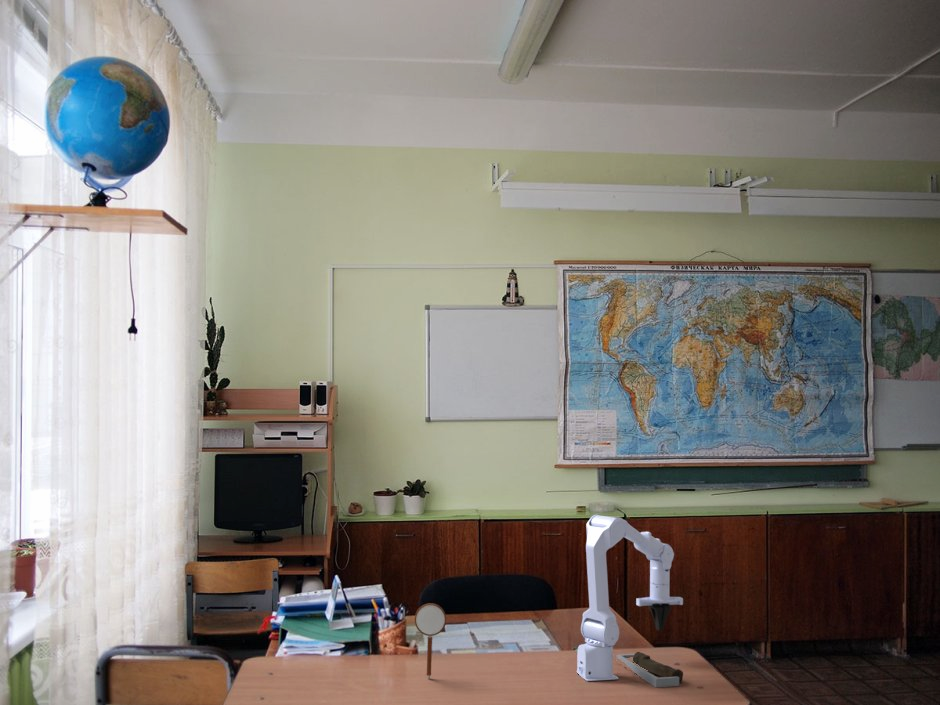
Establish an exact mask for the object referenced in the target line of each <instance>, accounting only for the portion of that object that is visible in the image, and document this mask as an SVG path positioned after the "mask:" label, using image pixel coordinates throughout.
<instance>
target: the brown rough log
mask: <svg viewBox="0 0 940 705" xmlns="http://www.w3.org/2000/svg"><path fill="white" fill-rule="evenodd" d="M634 654H635V655H634V657H633V661H634V662H635V663H636V664H638V665H639V666H640V667H642V668H644V669H646V670H648V671H647V672H649V673H651V674H653V675H657V677H659V678H660V677H676V676H678V677H679V684H681V683H682V682H683V679H684V678H683V676H684V671H683V670H681V669H679V668H678V669H677V668H673V667H672V666H670V665H667V664H666V665H665V664H664V663H660V662H658V661H656V660H653V659H652V658H651V656H650V655H649V654H648V655H647V654H646V653H643V652H640V651H637V652H635V653H634Z"/></svg>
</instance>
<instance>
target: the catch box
mask: <svg viewBox="0 0 940 705" xmlns="http://www.w3.org/2000/svg"><path fill="white" fill-rule="evenodd" d="M634 655H635V653H626V654H625V653H624V654H616V659H617V658H618V659H620V660H621V661H622V662H624V663H625V664H626V665H627V666H628V667H630V668H631V669H632V670H633V671H634V672H635V673H637V674H638V675H639V676H640V677H642V678H643V679H644V680H643V679H642V678H641V679H642V680H643V681H646V682H647V683H648V684H650V685H651V686H653V687H654V688H667V687H680V683H679V677H678V676H676V677H660V676H659V677H658V676H655V674H653V673H651V672H649V671H646V670H644V669H642V668H641V667H639V666H638V665H636V664H634V663H633V662H631V661H629V660H628V659H626V658H630V657H634ZM639 676H638V677H639ZM640 677H639V678H640Z"/></svg>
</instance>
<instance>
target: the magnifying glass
mask: <svg viewBox="0 0 940 705" xmlns="http://www.w3.org/2000/svg"><path fill="white" fill-rule="evenodd" d="M414 624H415V627H416V629H417V630H418V631H419V632H420V633H421V634H422V635H424V636H427V647H426V648H427V649H426V650H427V651H426V652H427V653H426V655H427V657H426V676H427V679H428V680H429V679H431V676H432V660H433V659H432V650H433V637H432V636H436V635H438V634H440V633H441V632H442V631H443V630H444V628H445V627H446V624H447V615H446V612H445V610H444V609H443V607H441V606H440V605H439V604H436V603H429V602H428V603H426V604H423V605H421V606H420V607H419V608H418V609H417V610H416V612H415V615H414Z"/></svg>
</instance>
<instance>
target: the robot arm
mask: <svg viewBox="0 0 940 705" xmlns="http://www.w3.org/2000/svg"><path fill="white" fill-rule="evenodd" d="M585 527H586V543H585V552H586V553H585V554H586V555H585V556H586V570H587V573H586V574H587V590H588V604H589V605H588V606H589V607H588V609H587V610H585V611H583V613H582V620H581V625H580V633H581V635H582V636H583V639H584V642H585V643H581V644H579V645H578V647H577V650H576V651H577V654H576V656H577V657H576V662H577V663H576V665H577V666H576V668H577V669H576V672H577V673H578V674H579V675H578V674H577V673H576V672H575V673H576V674H577V675H578V676H579V677H581V678H582V679H584V680H585V681H587V682H594V681H595V682H597V681H609V680H610V681H611V680H618V679H619V677H618V676H617V675H615V674H614V673H613V668H614V666H613V664H614V663H613V660H614V646H615V645H616V643H617V642H618V640H619V637H620V627H619V625H618V622H617V617H616V614H614V613H613V611H612V610H611V609H610V603H609V602H610V601H609V600H610V599H609V598H610V596H609V584H608V583H609V582H608V581H609V580H608V565H607V551H608V550H609V549H611V548H613V547H614V546H615V545H616V544H617V543H619V542H620V541H622V539H623V538H625V539H626V540H629V541H630V542H632V543H633V546H634V548H635V550H637V551H639V552H641V553H642V554H643V555H645V556H646V559H647V560H648V561H650V562H649V574H650V575H649V596H646V597H638V598H637V597H636V601H635V602H636V603H635V604H636V606H638V607H645V606H648V608H649V611H650V612H651V615H652V618H653V621H654V625H655V630H657V631H659V632H660V631H664V627H665V623H666V621H667V619H668V616H669V614H670V612H671V610H672V606H674V605H680V606H683V604H684V598H683V597H681V596H670V579H671V578H670V573H671V572H670V569H671V567H672V562H673V561H674V556H675V552H674V550H673V548H672V547H671V545H670V544H669V543H664V542H662V541H661V539H660V538H657V537H656V538H655V537H654V536H652V533H651V532H650V531H641V532H640V531H639V530H637V529H636V528H634V527H633V526H632V525H630V524H629V523H628V521H627V520H626V519H623V518H622V517H617V516H616V517H613V516H606V515H600V514H594V515H592V516H590V518H589V520H588V521H587V523H586V526H585Z"/></svg>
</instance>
